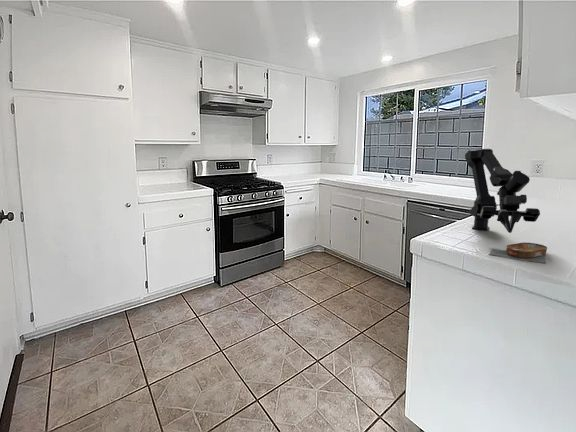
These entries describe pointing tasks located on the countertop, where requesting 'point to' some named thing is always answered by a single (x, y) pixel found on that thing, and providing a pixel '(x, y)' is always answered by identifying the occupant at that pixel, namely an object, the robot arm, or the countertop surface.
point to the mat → (503, 254)
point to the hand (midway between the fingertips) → (510, 232)
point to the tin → (526, 250)
